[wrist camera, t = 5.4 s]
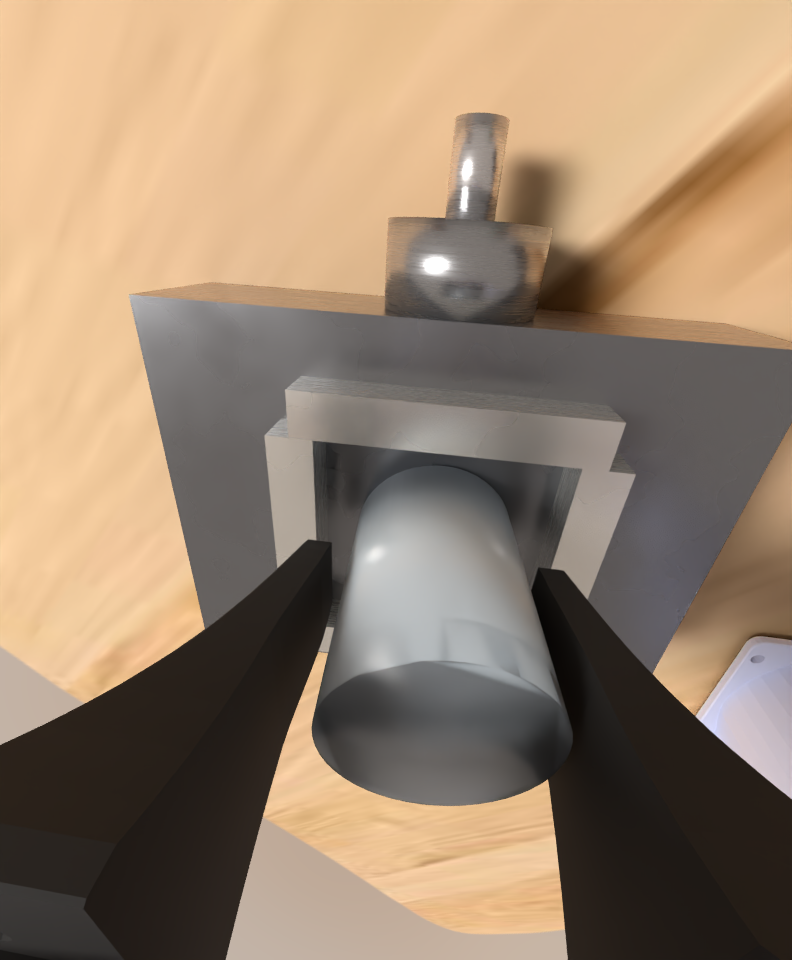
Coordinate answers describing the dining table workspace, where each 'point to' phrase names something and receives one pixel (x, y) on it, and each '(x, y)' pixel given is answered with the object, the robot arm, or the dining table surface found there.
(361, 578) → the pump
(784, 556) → the dining table surface
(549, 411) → the grey square pedestal
